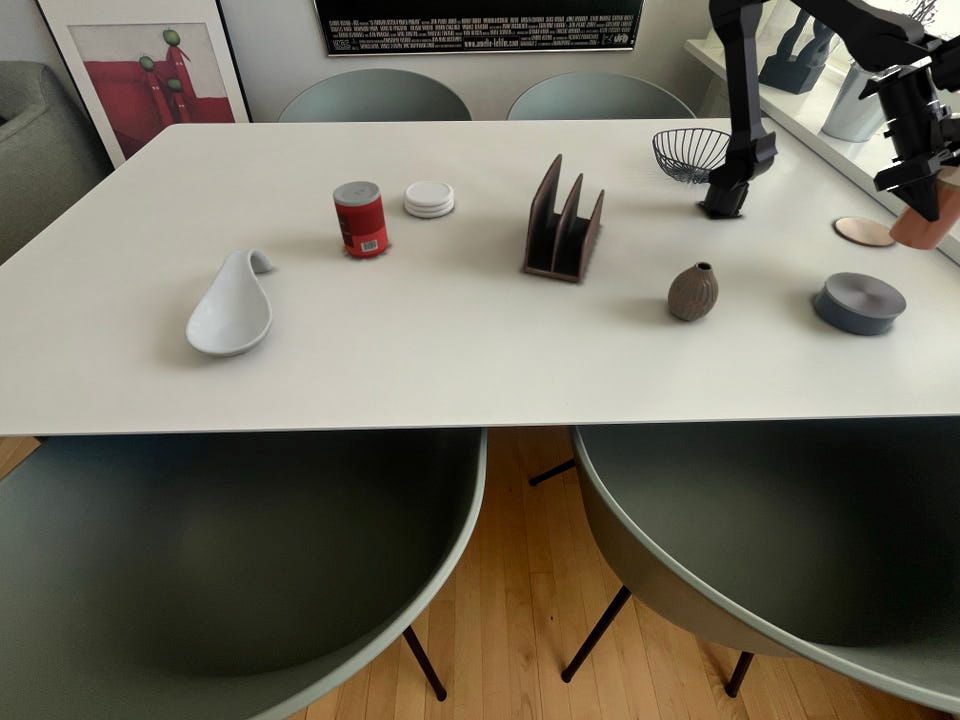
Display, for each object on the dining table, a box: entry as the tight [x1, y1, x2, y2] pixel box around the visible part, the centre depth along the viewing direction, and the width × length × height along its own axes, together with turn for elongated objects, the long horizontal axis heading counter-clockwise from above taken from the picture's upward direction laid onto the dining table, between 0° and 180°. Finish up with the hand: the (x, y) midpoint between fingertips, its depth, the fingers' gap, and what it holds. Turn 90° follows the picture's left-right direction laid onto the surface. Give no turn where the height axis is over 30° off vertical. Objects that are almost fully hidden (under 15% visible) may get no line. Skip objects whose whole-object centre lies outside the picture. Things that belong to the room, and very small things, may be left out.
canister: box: [888, 166, 960, 251], centre depth 71 cm, size 7×7×10 cm
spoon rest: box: [184, 248, 274, 357], centre depth 73 cm, size 24×12×7 cm, turn 9°
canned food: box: [332, 180, 389, 260], centre depth 84 cm, size 8×8×11 cm
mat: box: [834, 216, 896, 248], centre depth 92 cm, size 10×10×1 cm
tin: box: [813, 271, 907, 336], centre depth 74 cm, size 11×11×4 cm
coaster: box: [403, 179, 455, 219], centre depth 98 cm, size 10×10×4 cm
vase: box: [667, 261, 720, 321], centre depth 73 cm, size 7×7×9 cm
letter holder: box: [522, 153, 606, 283], centre depth 83 cm, size 10×20×14 cm, turn 160°
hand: (944, 213), depth 71 cm, fingers closed on canister, 6 cm apart
